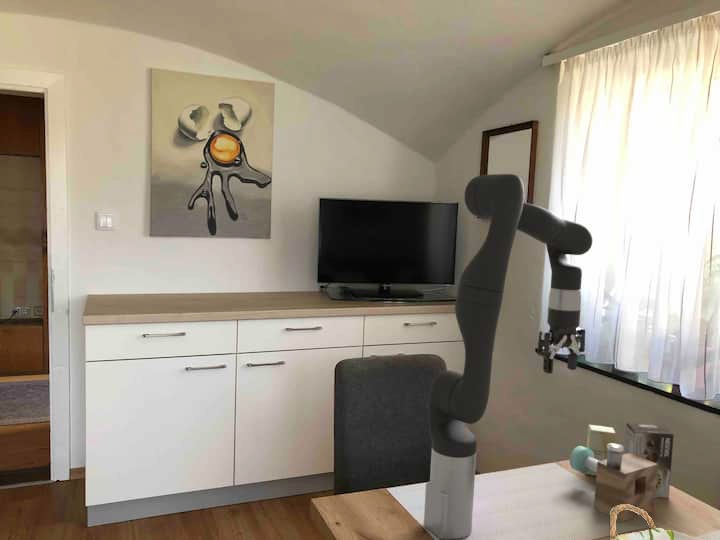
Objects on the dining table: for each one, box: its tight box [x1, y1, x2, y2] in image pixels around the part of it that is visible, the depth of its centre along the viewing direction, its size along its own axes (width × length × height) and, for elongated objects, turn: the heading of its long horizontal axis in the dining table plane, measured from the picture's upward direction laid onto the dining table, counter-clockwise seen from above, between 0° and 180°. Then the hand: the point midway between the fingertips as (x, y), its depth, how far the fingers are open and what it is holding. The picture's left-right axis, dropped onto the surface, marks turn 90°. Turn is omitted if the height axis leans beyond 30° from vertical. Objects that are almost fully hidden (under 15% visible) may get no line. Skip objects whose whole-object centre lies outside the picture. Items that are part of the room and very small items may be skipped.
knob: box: [569, 445, 598, 474], centre depth 139 cm, size 6×14×6 cm, turn 30°
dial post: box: [607, 443, 625, 470], centre depth 131 cm, size 3×3×5 cm
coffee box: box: [624, 422, 675, 499], centre depth 143 cm, size 9×6×16 cm
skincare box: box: [585, 424, 616, 476], centre depth 153 cm, size 6×4×12 cm
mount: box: [593, 453, 658, 522], centre depth 134 cm, size 12×7×11 cm, turn 120°
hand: (560, 371), depth 145 cm, fingers open, 8 cm apart
